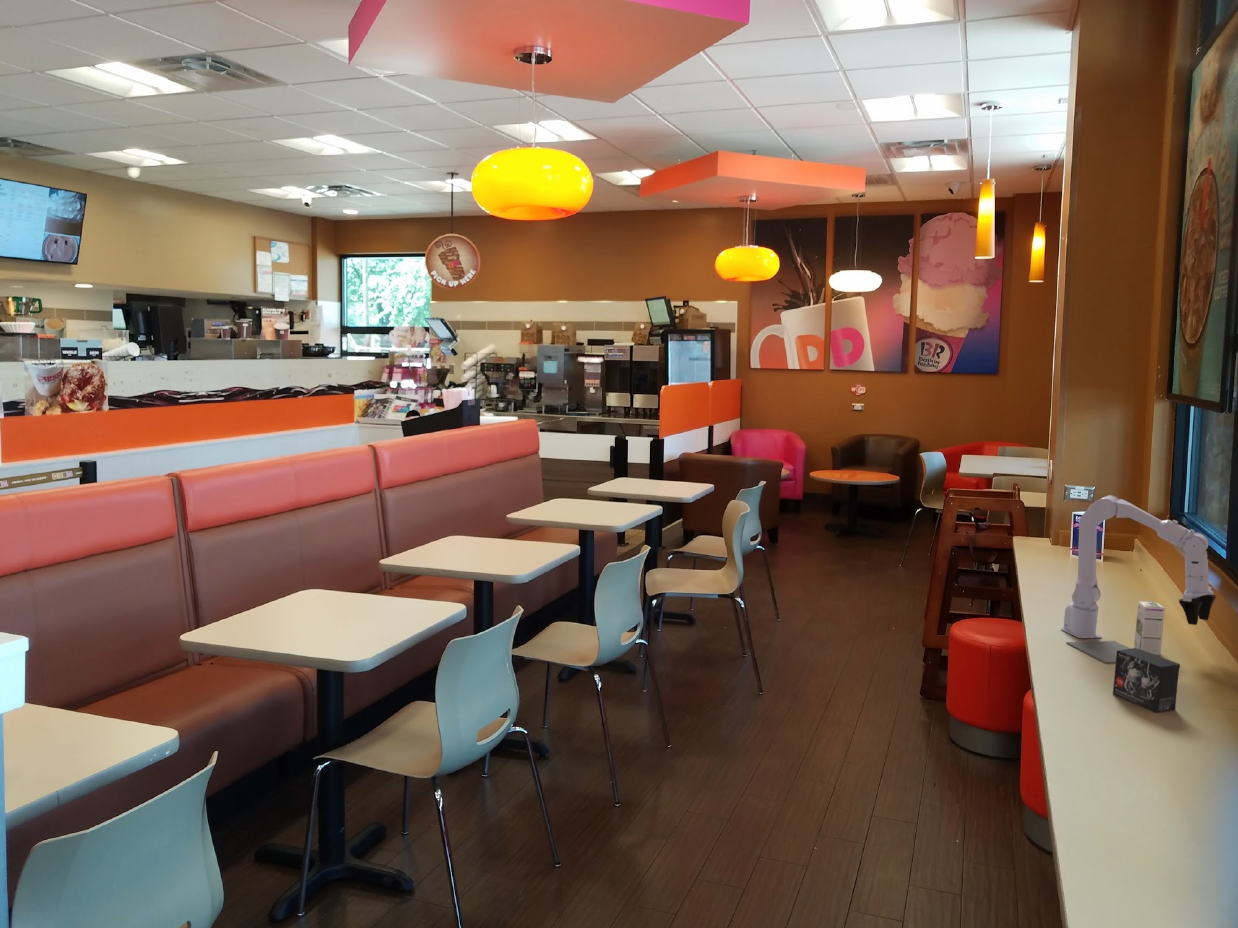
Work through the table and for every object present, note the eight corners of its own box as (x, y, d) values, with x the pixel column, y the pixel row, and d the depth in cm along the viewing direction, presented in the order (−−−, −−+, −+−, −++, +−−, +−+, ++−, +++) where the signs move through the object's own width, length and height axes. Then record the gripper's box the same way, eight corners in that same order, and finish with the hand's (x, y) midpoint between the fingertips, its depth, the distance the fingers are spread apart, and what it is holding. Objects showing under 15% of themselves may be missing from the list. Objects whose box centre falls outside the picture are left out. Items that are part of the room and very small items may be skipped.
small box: (1111, 694, 243) (1115, 649, 242) (1130, 691, 246) (1135, 647, 244) (1156, 713, 231) (1160, 666, 230) (1176, 710, 233) (1181, 663, 232)
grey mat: (1066, 643, 285) (1066, 641, 285) (1114, 642, 287) (1114, 640, 287) (1105, 663, 267) (1105, 661, 267) (1156, 662, 270) (1156, 660, 270)
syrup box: (1161, 655, 276) (1166, 607, 274) (1139, 653, 277) (1144, 605, 275) (1154, 649, 281) (1159, 602, 280) (1132, 647, 283) (1137, 600, 281)
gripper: (1201, 580, 266) (1202, 628, 267) (1222, 572, 275) (1223, 619, 276) (1174, 578, 272) (1175, 624, 273) (1196, 570, 281) (1197, 615, 282)
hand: (1198, 621), depth 275 cm, fingers open, 7 cm apart
